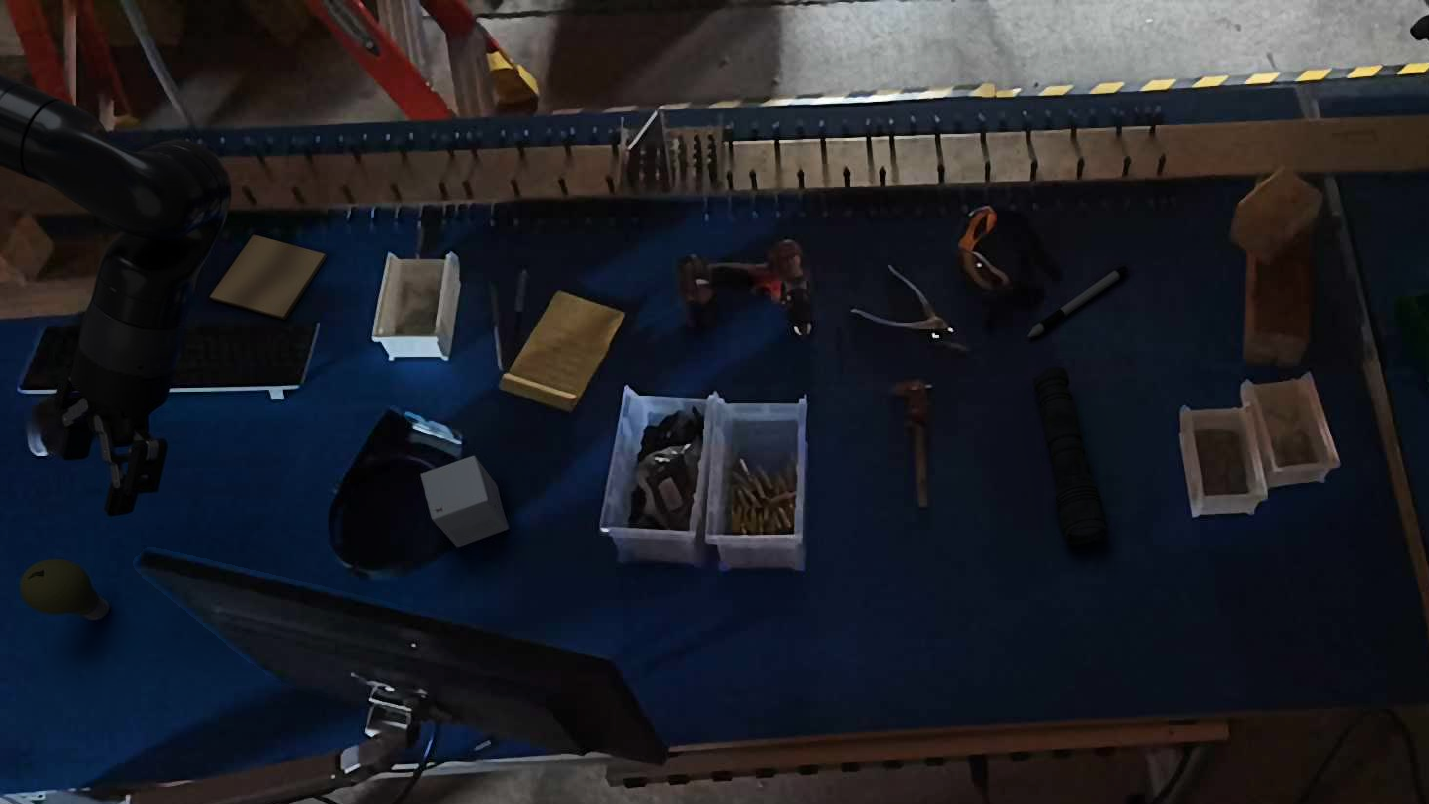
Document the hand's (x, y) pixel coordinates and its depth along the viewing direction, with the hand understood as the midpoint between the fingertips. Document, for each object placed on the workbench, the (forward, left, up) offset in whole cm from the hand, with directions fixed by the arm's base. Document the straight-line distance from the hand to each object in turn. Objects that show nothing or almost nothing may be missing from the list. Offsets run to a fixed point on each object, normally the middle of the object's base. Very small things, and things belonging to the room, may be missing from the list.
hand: (95, 485), depth 110 cm
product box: (+28, +13, -16) cm, 35 cm away
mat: (-11, +35, -15) cm, 40 cm away
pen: (+85, +61, -16) cm, 106 cm away
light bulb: (-5, -9, -16) cm, 19 cm away
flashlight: (+89, +39, -16) cm, 99 cm away
